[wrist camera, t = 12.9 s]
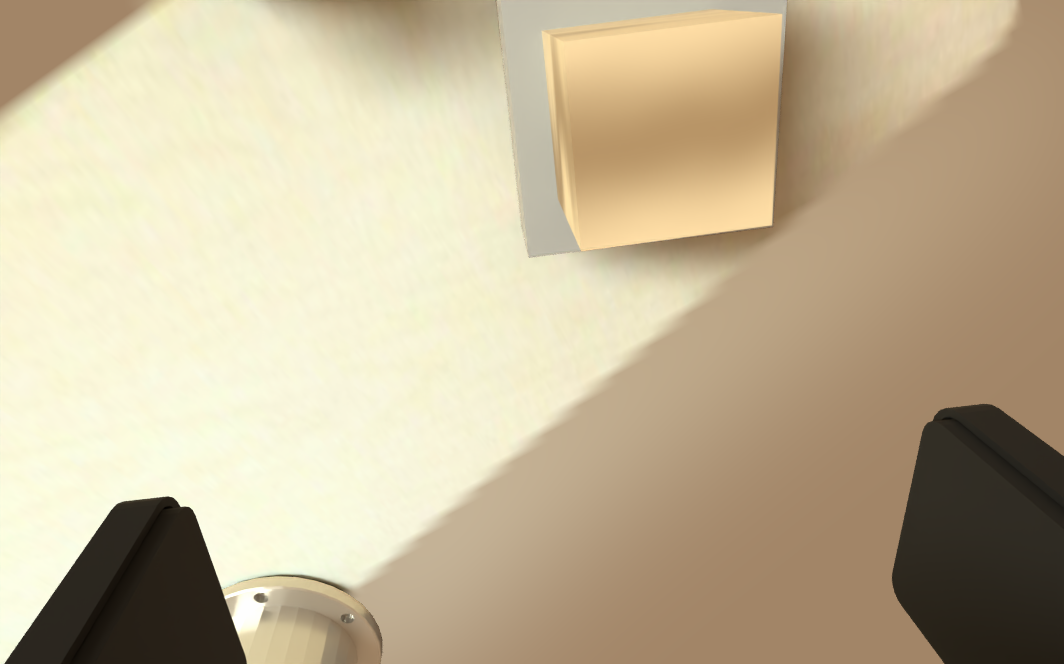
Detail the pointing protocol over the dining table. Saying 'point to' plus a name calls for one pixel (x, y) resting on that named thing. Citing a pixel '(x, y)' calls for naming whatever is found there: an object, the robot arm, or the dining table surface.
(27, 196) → the dining table surface
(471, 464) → the dining table surface
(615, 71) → the block
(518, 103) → the tower top
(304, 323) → the dining table surface
